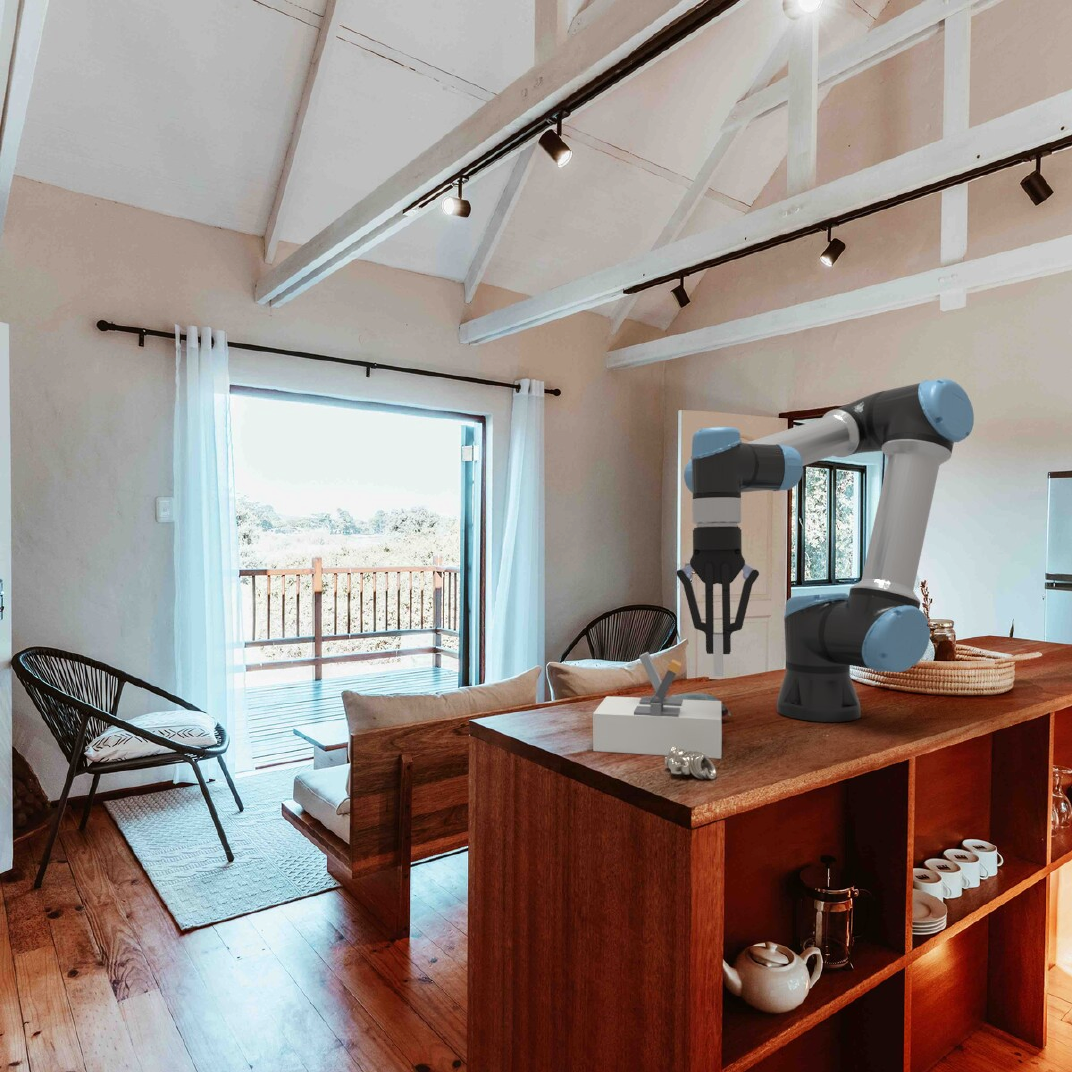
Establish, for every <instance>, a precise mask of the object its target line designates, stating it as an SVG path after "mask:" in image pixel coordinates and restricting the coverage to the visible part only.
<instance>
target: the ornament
mask: <svg viewBox="0 0 1072 1072" xmlns="http://www.w3.org/2000/svg"><path fill="white" fill-rule="evenodd" d="M676 749H677V748H676V747H672V748H671V750H670V751H669V753H668V756H667V755H666V756H665V757H664V764H665V766H667V768H668V769H670V773H671V774H672V775H686V776H687V775H690V774H691V775H692V776H693V777H695V778H696V779H699V780H704V779H709V780H714V779H716V776H717V769H716V766H715V765H714V763H713V762H712V760H711V758H708V757H707V756H706V755H705V754H703V753H701V752H697V751H694V752H692V751H688V752H686V751H685V750H684V749H679V751H676Z"/></svg>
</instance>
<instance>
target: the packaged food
mask: <svg viewBox="0 0 1072 1072" xmlns="http://www.w3.org/2000/svg"><path fill="white" fill-rule="evenodd" d="M670 697H674V698H683V699H684V700H708V701H720V699H718V698H717V697H716V696H714V695H712V694H708V693H701V692H699V693H698V692H685V693H679V694H671V695H670ZM721 707H722V718H725V717H726V716H727V715H728V716H729V717H730V716H731V715H732V713H731V712H730V711H729V709H728V708H727V707H726V706H725V705H724V704H723V703H722V702H721Z"/></svg>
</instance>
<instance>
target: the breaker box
mask: <svg viewBox="0 0 1072 1072" xmlns="http://www.w3.org/2000/svg"><path fill="white" fill-rule="evenodd" d="M639 655H640V656H639V658H638V659H640V662H641V664H642V666H643V668H644V670H645V673H646V674H647V677H648V679H649V681H650V683H651V685H652V687H653V689H654V694H656V693H657V691H658V689H659V687H660V685H661V683H662V681H663V679H662V678H661V677H660V673H659V671H658V670H657V668H656V666H655V663H654V662H653V659H652V657H651V655H650V652H649V651H646V652H644V653H642V654H639ZM668 692H669V690H668V691H667V693H666V695H665V697H664V703H663V705H662V707H661V703H651V705H650V701H651V698H652V696H650V695H649V696H646V695H645V696H644V695H642V696H641V697H636V696H635V697H632V696H630V697H628V696H609V695H608V696H605V698H603V700H602V702H601V703H600V704H599V705H598V706H597V708H596V709H595V711H593V713H592V733H593V734H592V741H593V743H592V745H593V746H592V748H593V749H592V750H593V752H599V753H600V752H603V753H620V754H621V753H623V754H636V755H638V754H639V755H650V756H651V755H652V756H653V755H654V756H666V757H667V756H668V753H669V751H670V750H671V748H672V747H676V748H677V749H676V751H679V749H684V750H685V751H686V752H688V751H692V752H694V751H697V752H701V753H703V754H705V755H706V756H707V757H708V758H709V759H717V760H718V759H720V760H721V759H722V751H723V750H722V748H723V747H722V746H723V745H722V743H723V741H722V740H723V726H722V725H723V724H722V723H723V721H722V719H723V717H722V707H721V703H722V700H719V701H708V700H684V699H683V698H674V697H671V696H670V697H669V696H667V694H668Z"/></svg>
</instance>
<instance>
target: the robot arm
mask: <svg viewBox="0 0 1072 1072" xmlns="http://www.w3.org/2000/svg"><path fill="white" fill-rule="evenodd" d="M974 420H975V417H974V409H973V406H972V402H971V399H970V398H969V396H968V394H967V392H966V391H965V390H964V388H963V387H962V386H961V385H959V384H958V383H957V382H956V381H954V380H951V379H948V378H939V379H933V380H929V379H928V380H927V379H926V380H923V381H921V382H919V383H914V384H910V385H905V386H900V387H896V388H892V389H887V390H882V391H878V392H874V393H872V394H870V395H867V396H864V397H862V398H859V399H857V400H855V401H853V402H850V403H848V404H846V405H845V404H844V405H843V406H840V407H838V408H835V409H832V410H829V411H827V412H826V413H825V414H824V415H823V416H822V417H821V418H820V419H816V420H814V421H810V422H807V423H804V424H801V425H798V426H795V427H792V428H788V429H785V430H782V431H778V432H776V433H772V434H769V435H766V436H764V437H760V438H757V439H754V440H751V441H747V442H742V439H741V432H740V430H739V429H738V428H735V427H730V426H712V427H706V428H700V429H698V430H697V431H695V432H694V434H693V435H692V442H691V456H690V460H689V461H688V462H687V463H686V465H685V468H684V472H683V479H684V482H685V486H686V487H687V489H688V490H689V491H690V492H691V493H692V500H691V501H692V505H691V507H692V523H693V524H694V525H696V527H693V529H692V555H691V558H690V559H689V564H688V565H686V566H684V567H683V568H680V569H678V570H677V571H676V576H677V578H678V579H679V580H680V582H681V583H682V585H683V588H684V592H685V597H686V600H687V604H688V609H689V612H690V617H691V619H692V624H693V627H694V629H696V630H699V631H702V632H703V633H704V634H705V651H706V652H705V653H706V654H707V655H708V654H709V655H711V654H712V655H713V657H712V658H713V677H724V655H730V654H731V652H732V650H731V647H732V646H731V643H732V641H731V638H732V637H731V636H732V634H733V633H734V632H736V631H741V630H742V629H743V625H744V622H745V616H746V612H747V609H748V604H749V600H750V597H751V593H752V588H753V584H754V583H755V581H757V579H758V577H759V575H760V572H759V570H758V569H754V568H752V567H751V566H749V565H748V564H746V559H745V558H744V557H743V552H742V550H743V549H742V542H743V541H742V529H741V527H739V525H738V524H741V522H742V493H750V492H761V491H773V492H781V491H789V490H792V489H793V488H795V487H796V486H798V484H799V482H800V480H801V479H802V476H803V472H804V470H803V467H804V466H807V465H810V464H813V463H816V462H818V461H821V460H824V459H828V458H831V457H837V458H846V457H849V456H852V455H855V454H857V455H858V454H862V453H863V454H865V453H875V452H876V453H877V452H882V453H883V454H884V455H885V456H886V458H887V463H886V467H885V471H884V476H883V481H882V485H881V490H880V495H879V499H878V503H877V508H876V513H875V518H874V521H873V527H872V531H871V536H870V539H869V540H870V541H869V544H868V549H867V553H866V557H865V562H864V568H863V572H862V577H861V580H860V581H858V582H857V583H856V584H854V585H852V586H851V587H850V589H849V592H848V594H847V593H845V592H842V593H841V592H839V593H838V592H837V593H825V594H824V593H820V594H810V595H809V594H808V595H797V596H792V597H790V598H789V599H788V600H787V601H786V603H785V610H784V612H785V613H784V617H783V618H784V619H783V620H784V641H785V644H784V645H785V646H784V647H785V675H784V677H783V681H782V684H781V687H780V690H779V692H778V695H777V696H778V697H777V699H776V711H777V713H778V714H780V715H782V716H785V717H788V718H791V719H797V720H802V721H809V722H823V723H824V722H825V723H842V722H850V721H856V720H857V719H858V720H859V718H861V704H860V700H859V697H858V694H857V692H856V689H855V686H854V683H853V680H852V678H851V677H852V676H851V670H850V669H851V667H850V666H854V667H858V668H863V669H864V668H865V669H869V670H873V671H875V672H878V673H879V672H880V673H883V672H884V673H886V672H889V673H903V672H905V671H908V670H911V668H912V667H914V666H916V665H917V664H918V663H919V662H920V661H921V660H922V658H923V657H924V655H925V653H926V651H927V649H928V646H929V644H930V638H931V628H930V627H929V625H928V624H929V620H928V618H927V616H926V614H925V613H924V612H923V611H922V610H921V609H920V607H921V600H920V599H919V597H918V596H917V595H916V593H915V592H914V590H915V589H914V588H915V584H916V580H917V579H916V578H917V574H918V570H919V564H920V561H921V556H922V551H923V547H924V541H925V536H926V531H927V528H928V527H927V526H928V521H929V517H930V513H931V512H930V511H931V507H932V502H933V498H934V493H935V488H936V483H937V479H938V475H939V470H940V466H941V465H943V464H944V463H945V462H948V461H949V460H950V459H951V457H952V454H953V453H952V452H953V448H954V444H955V443H960V442H961V441H964V440H965V439H967V438H968V437H969V436H970V435H971V434H972V433H971V432H972V431H973V427H974V424H975V423H974V422H975V421H974ZM693 571H694V572H695V574H696V575H697V576H698V578H699V580H700V581H701V582H703V583H704V591H705V593H704V595H705V597H704V602H705V603H704V604H705V611H704V612H705V613H704V614H705V616H704V617H705V622H703V621H702V619H701V615H700V610H699V606H698V603H697V599H696V595H695V591H694V587H693V586H694V585H693V583H692V581H691V579H693ZM741 571H743V573H742V577H743V579H744V583H743V585H742V590H741V595H740V597H739V602H738V606H737V607H738V608H737V611H736V615H735V619H734V622H732V623H731V583H733V582H734V581H735V579H736V578H737V577H738V575H739V573H740V572H741ZM716 584H719V585H721V607H722V608H721V610H722V611H721V612H722V613H721V614H722V619H721V621H722V624H721V625H722V632H715V631H714V629H715V626H714V622H715V621H714V617H715V615H714V585H716Z"/></svg>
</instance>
